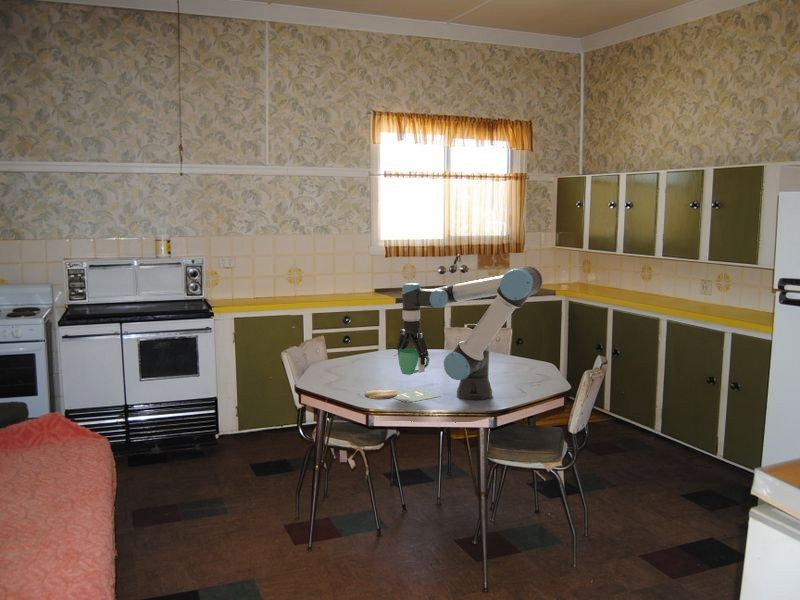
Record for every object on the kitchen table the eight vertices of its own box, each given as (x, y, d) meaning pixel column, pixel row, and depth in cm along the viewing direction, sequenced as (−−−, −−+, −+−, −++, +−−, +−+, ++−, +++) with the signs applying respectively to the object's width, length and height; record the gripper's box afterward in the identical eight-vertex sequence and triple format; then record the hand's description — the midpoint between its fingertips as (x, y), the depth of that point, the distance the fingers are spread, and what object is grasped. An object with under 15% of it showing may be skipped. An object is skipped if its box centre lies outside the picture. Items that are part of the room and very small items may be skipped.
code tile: (440, 396, 313) (440, 396, 313) (406, 403, 303) (406, 402, 303) (415, 387, 328) (415, 387, 328) (381, 393, 317) (381, 393, 317)
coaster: (404, 395, 314) (404, 394, 314) (376, 400, 306) (376, 399, 306) (385, 388, 326) (385, 387, 325) (358, 393, 317) (358, 392, 317)
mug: (392, 373, 313) (393, 350, 311) (402, 368, 321) (403, 346, 320) (423, 379, 306) (424, 356, 305) (432, 374, 315) (434, 352, 313)
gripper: (436, 322, 303) (437, 373, 306) (401, 315, 323) (402, 363, 326) (422, 324, 299) (422, 375, 301) (387, 317, 319) (388, 366, 321)
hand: (412, 369), depth 313 cm, fingers closed on mug, 12 cm apart
